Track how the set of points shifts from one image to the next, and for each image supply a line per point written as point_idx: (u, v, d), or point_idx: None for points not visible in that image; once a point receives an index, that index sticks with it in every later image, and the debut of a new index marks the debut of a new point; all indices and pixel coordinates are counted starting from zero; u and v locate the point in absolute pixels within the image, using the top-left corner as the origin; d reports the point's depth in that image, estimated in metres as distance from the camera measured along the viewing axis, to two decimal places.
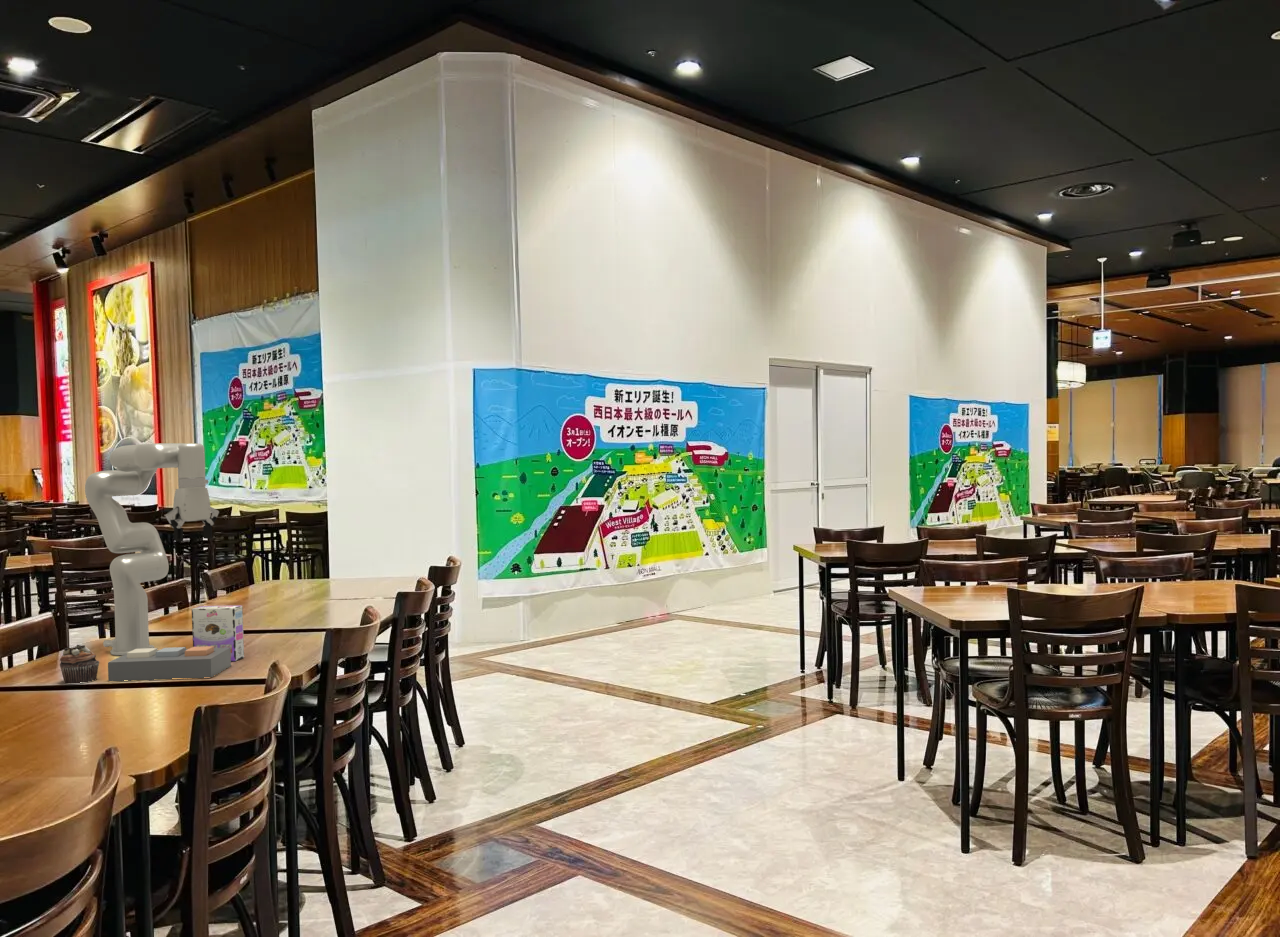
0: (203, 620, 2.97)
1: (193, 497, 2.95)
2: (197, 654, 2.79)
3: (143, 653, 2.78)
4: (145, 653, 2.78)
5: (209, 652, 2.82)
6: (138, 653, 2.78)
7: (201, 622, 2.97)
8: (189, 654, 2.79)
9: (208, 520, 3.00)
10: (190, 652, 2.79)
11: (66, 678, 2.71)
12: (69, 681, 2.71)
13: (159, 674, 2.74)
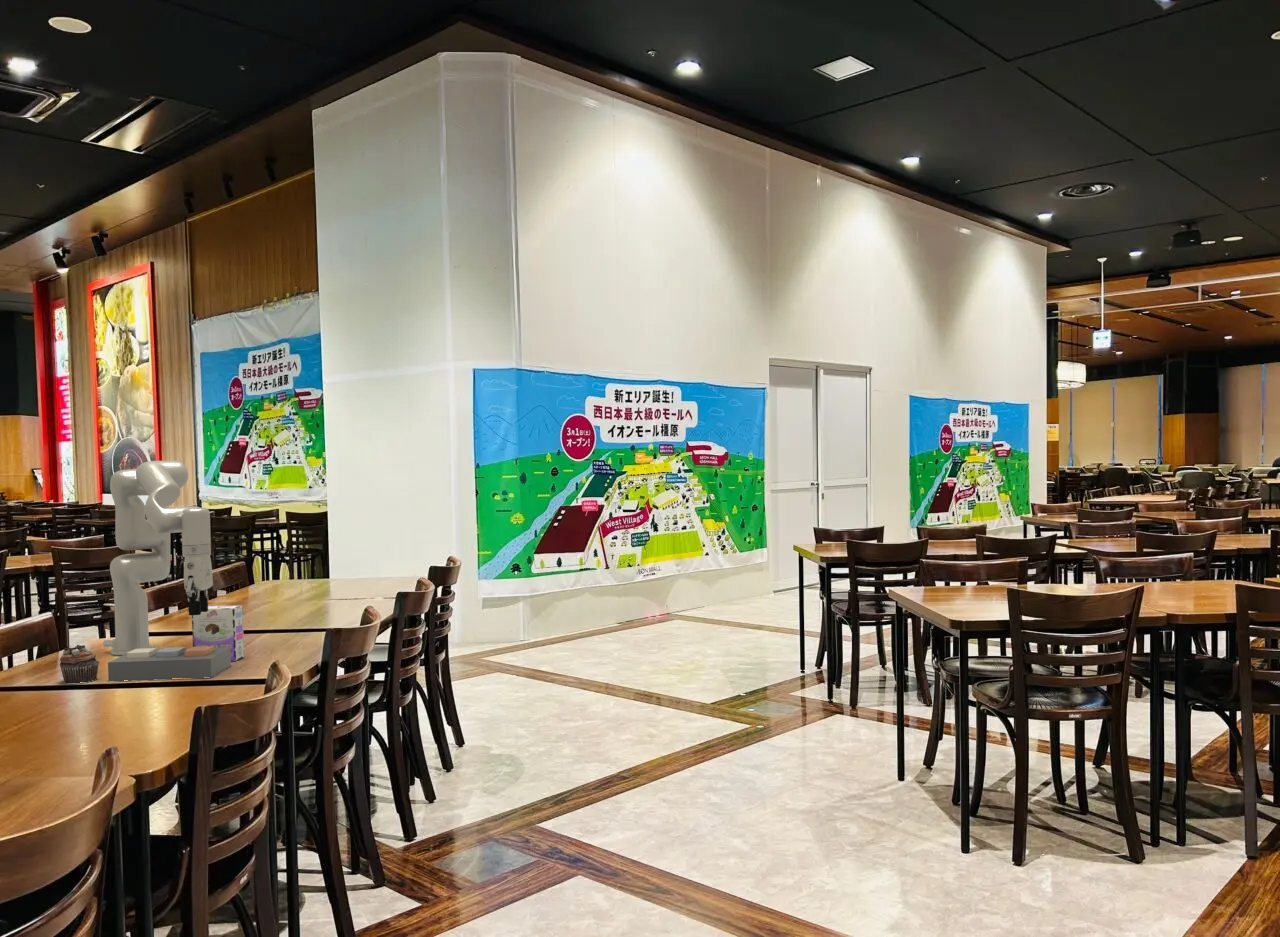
0: (203, 620, 2.97)
1: None
2: (197, 654, 2.79)
3: (143, 653, 2.78)
4: (145, 653, 2.78)
5: (209, 652, 2.82)
6: (138, 653, 2.78)
7: (201, 622, 2.97)
8: (189, 654, 2.79)
9: None
10: (190, 652, 2.79)
11: (66, 678, 2.71)
12: (69, 681, 2.71)
13: (159, 674, 2.74)
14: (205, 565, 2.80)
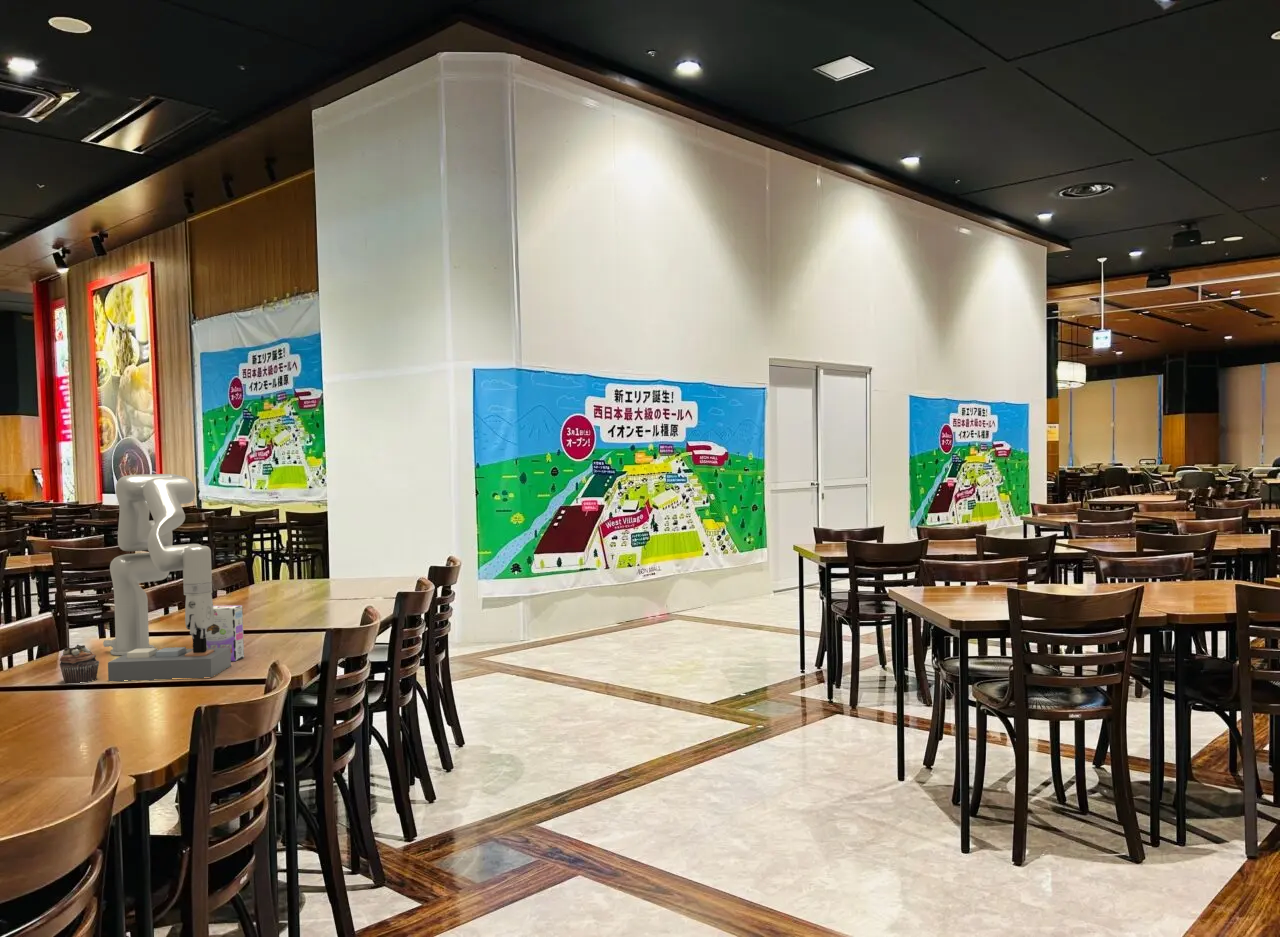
0: None
1: None
2: None
3: (143, 653, 2.78)
4: (145, 653, 2.78)
5: None
6: (138, 653, 2.78)
7: None
8: None
9: None
10: None
11: (66, 678, 2.71)
12: (69, 681, 2.71)
13: (159, 674, 2.74)
14: (206, 604, 2.81)
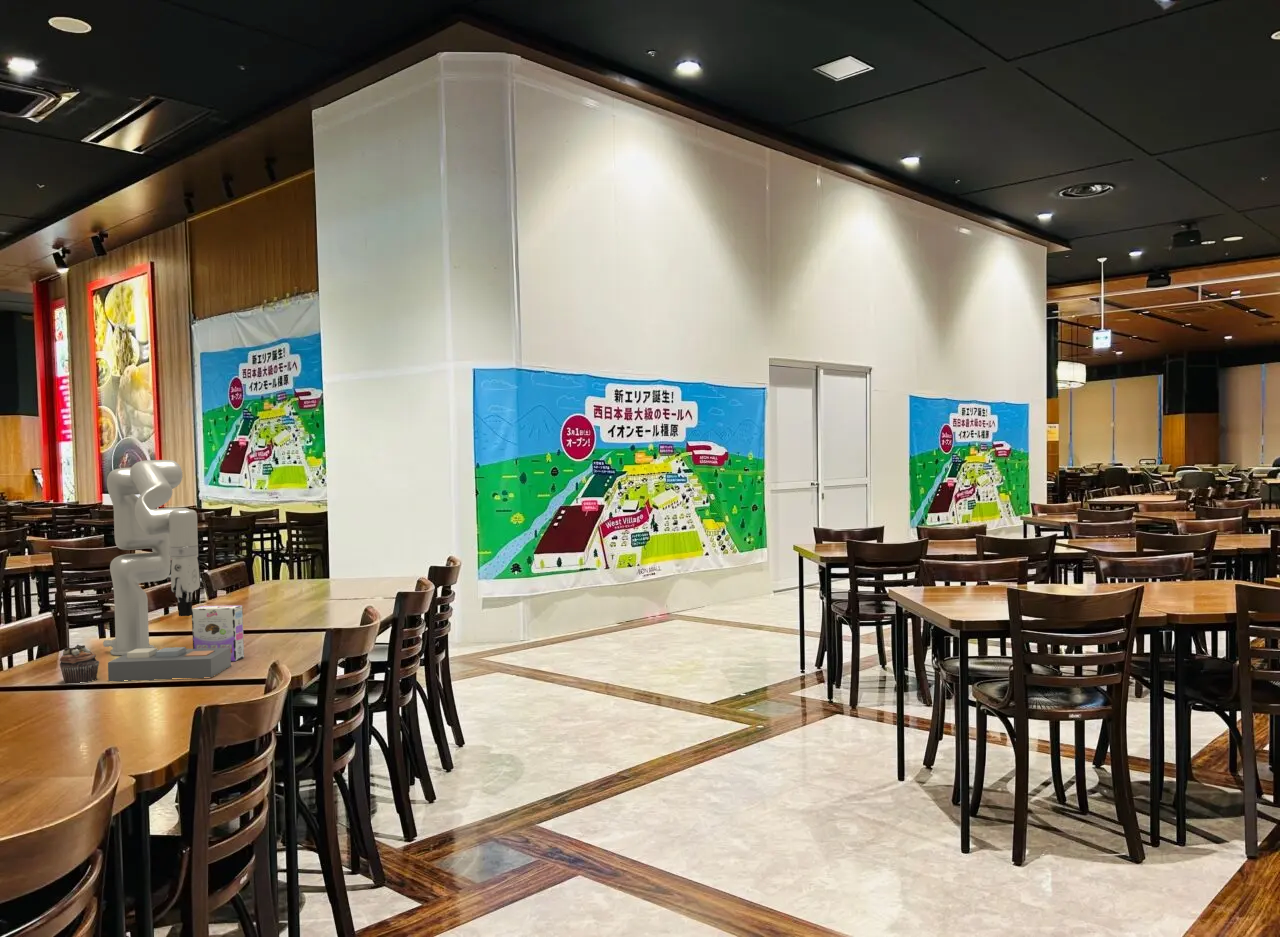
0: (203, 620, 2.97)
1: None
2: None
3: (143, 653, 2.78)
4: (145, 653, 2.78)
5: None
6: (138, 653, 2.78)
7: (201, 622, 2.97)
8: None
9: None
10: None
11: (66, 678, 2.71)
12: (69, 681, 2.71)
13: (159, 674, 2.74)
14: (192, 567, 2.80)
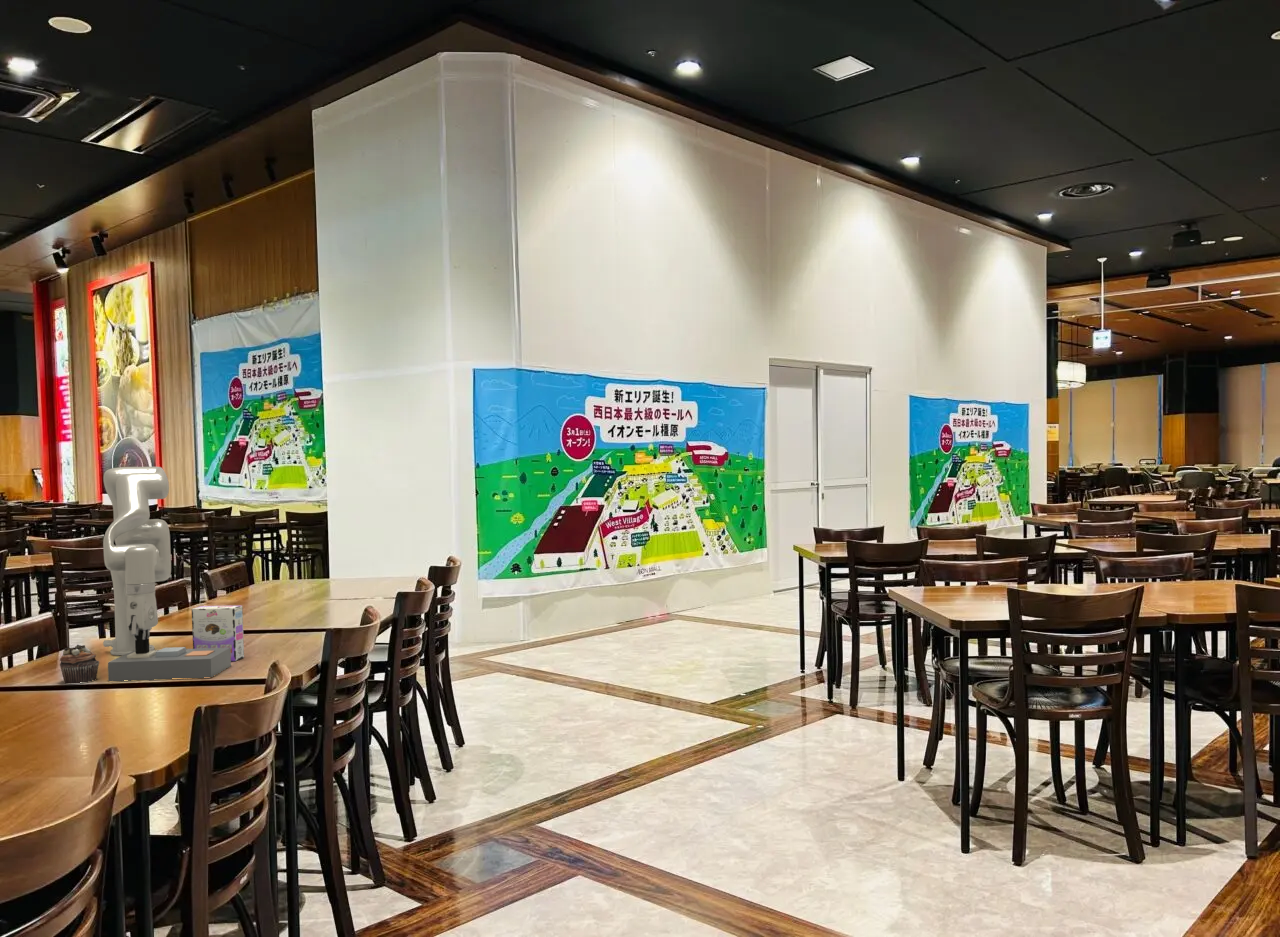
0: (203, 620, 2.97)
1: None
2: None
3: (143, 655, 2.78)
4: (145, 656, 2.78)
5: None
6: (138, 656, 2.78)
7: (201, 622, 2.97)
8: None
9: None
10: None
11: (66, 678, 2.71)
12: (69, 681, 2.71)
13: (159, 674, 2.74)
14: (149, 604, 2.79)
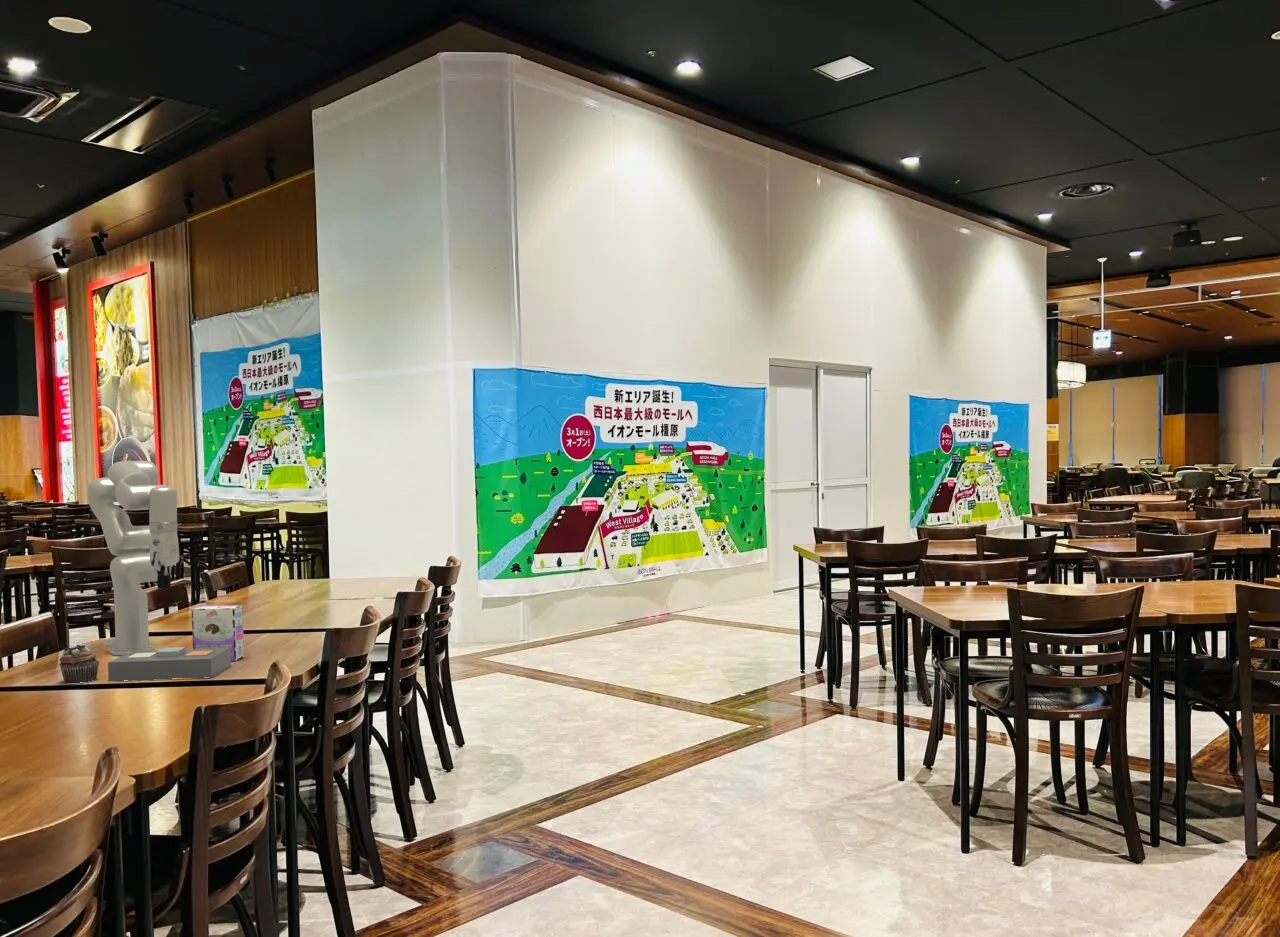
0: (203, 620, 2.97)
1: None
2: None
3: (143, 657, 2.78)
4: None
5: None
6: None
7: (201, 622, 2.97)
8: None
9: None
10: None
11: (66, 678, 2.71)
12: (69, 681, 2.71)
13: (159, 674, 2.74)
14: (171, 542, 2.93)
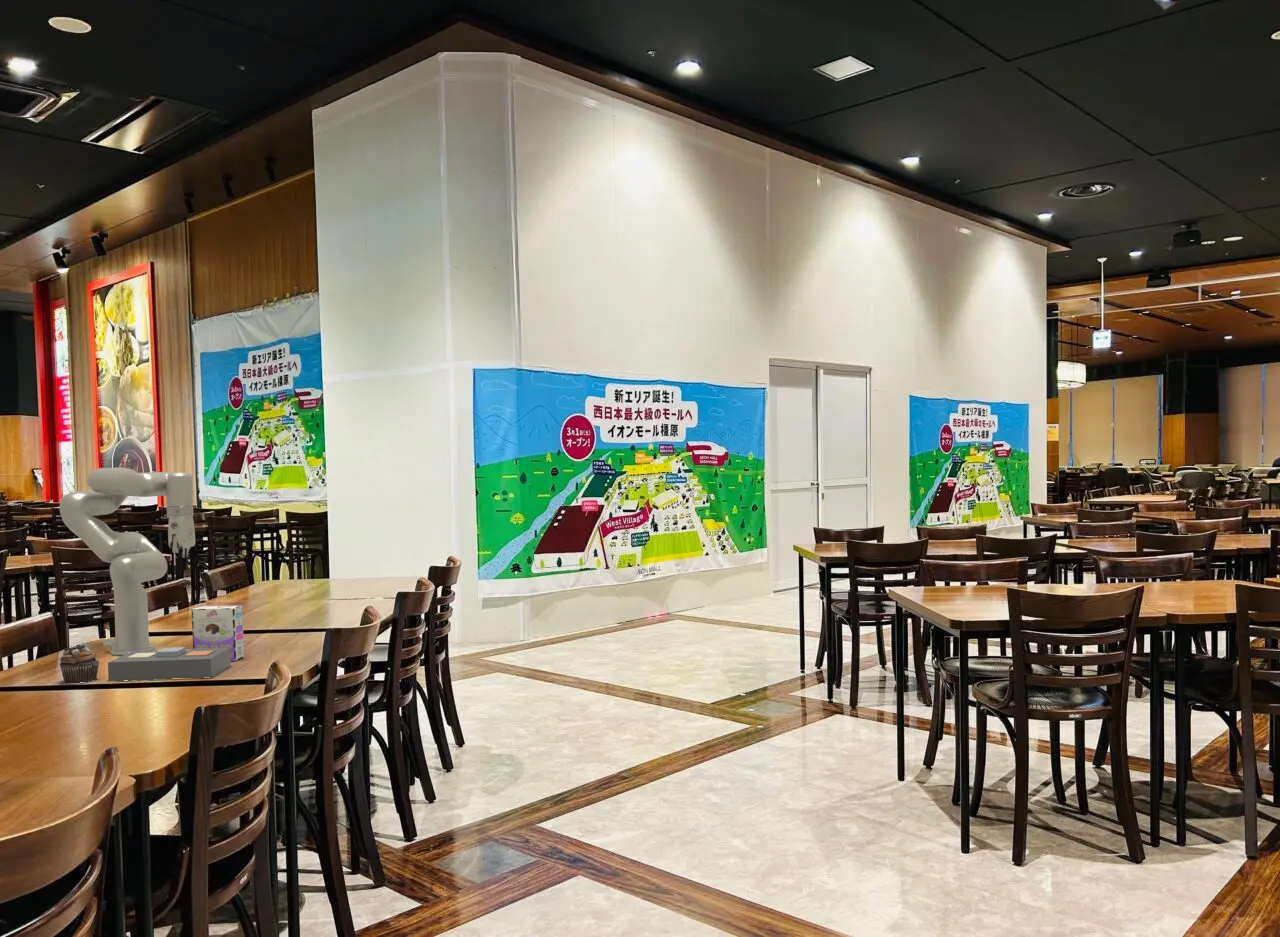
0: (203, 620, 2.97)
1: None
2: None
3: (143, 657, 2.78)
4: None
5: None
6: None
7: (201, 622, 2.97)
8: None
9: None
10: None
11: (66, 678, 2.71)
12: (69, 681, 2.71)
13: (159, 674, 2.74)
14: (188, 525, 3.04)
